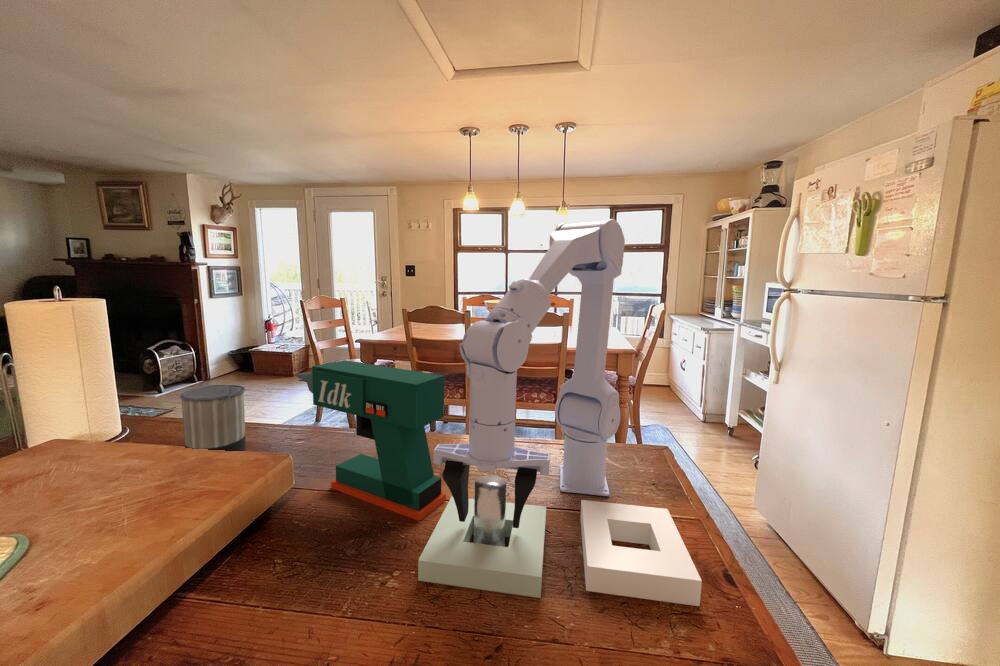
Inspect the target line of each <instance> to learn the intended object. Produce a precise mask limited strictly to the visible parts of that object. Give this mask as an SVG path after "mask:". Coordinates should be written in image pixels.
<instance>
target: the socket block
mask: <svg viewBox="0 0 1000 666" xmlns="http://www.w3.org/2000/svg"><path fill="white" fill-rule="evenodd" d="M468 501H469V507H468V514H467V517H466V519H465V522H461V521H459V516H458V511H457V507H456V504H455V501H454V498H453V496H450V498H449V501H448V502H447V505H446V506H445V508H444V510H443V512H442V514H441V516H440V518H439V520H438V522H437V524H436V526H435V528H434V529H433V531H432V533H431V535H430V537H429V539H428V541H427V543H426V545H425V546H424V548H423V551H422V552H421V554H420V556H419V558H418V560H417V581H418V582H419V581H420V582H427V583H432V584H440V585H448V586H453V587H461V588H468V589H474V590H481V591H489V592H496V593H503V594H509V595H515V596H523V597H530V598H539V599H541V598H542V585H543V583H542V582H543V570H544V569H543V568H544V567H543V566H544V552H545V538H546V520H547V506H543V505H533V504H525V505H524V507H523V510H522V513H521V516H520V523H519V528H513V517H514V508H515V502H507V501H506V518H505V538H509V542H508V546H505V547H502V546H494V545H486V544H478V543H474V542H470V541H471V539H472V535H473V534H474V504H475V498H469V497H468Z"/></svg>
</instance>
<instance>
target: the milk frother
mask: <svg viewBox="0 0 1000 666" xmlns="http://www.w3.org/2000/svg"><path fill="white" fill-rule="evenodd" d="M245 391H246V387H244V386H242V385H238V384H211V385H205V386H200V387H193V388H190V389H186V390H185V391H182V392H180V393H179V395H178V398H180V399H181V412H182V414H181V415H182V425H183V438H184V449H185V448H192V449H208V450H225V451H246V452H247V446H246V418H245V397H244V392H245Z"/></svg>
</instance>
